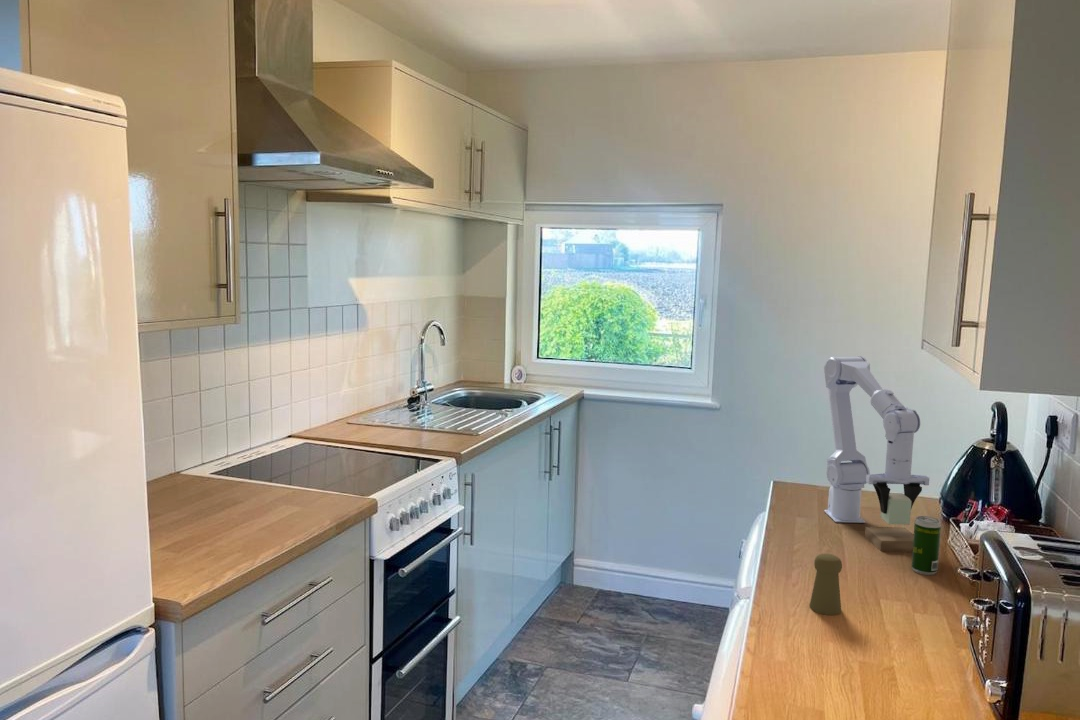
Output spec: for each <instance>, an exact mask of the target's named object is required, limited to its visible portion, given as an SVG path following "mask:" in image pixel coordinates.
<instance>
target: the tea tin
mask: <svg viewBox="0 0 1080 720" xmlns="http://www.w3.org/2000/svg"><path fill="white" fill-rule="evenodd" d="M911 503H912V501H911V500H910V499H909V498H908V497H907V496H905V495H904V493H900V492H890V493H889V497H888V508H887V514H886V513H883V512H881V511H880V518H881V519H882V520H883V521H884V522H885V523H887V524H888V525H898V526H899V525H903V526H904V525H906V526H907V525H908V526H909V525H910V524H911V515H912V514H911V513H912V509H911Z"/></svg>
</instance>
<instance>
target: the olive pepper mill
mask: <svg viewBox="0 0 1080 720" xmlns="http://www.w3.org/2000/svg"><path fill="white" fill-rule="evenodd" d="M813 565H814V569H815V571H816V573H815V577H814V583H813V588H812V590H811V591H812V592H811V597H810V601H809V609H810V610H811V611H813V612H815V613H817V614H820V615H825V616H837V615H839V614H841V613H842V604H841V603H842V602H841V590H840V589H841V588H840V578H839V577H840V576H839V573H841V571H842V569H843V564H842V560H841V559H840V557H839V556H837V555H835V554H830V553H820V554H817V555H816V556H815V558H814V561H813Z"/></svg>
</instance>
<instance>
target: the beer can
mask: <svg viewBox="0 0 1080 720" xmlns="http://www.w3.org/2000/svg"><path fill="white" fill-rule="evenodd" d="M941 532H942V525H941V520H940V519H938V518H936V517H933V516H926V515H921V516H916V517H915V520H914V526H913V534H914V537H913V550H912V553H911V564H910V566H911V569H912V571H913V572H915V573H918V574H920V575H925V576H933V575H936V574H937V572H938V569H939V559H940V558H939V556H940V548H941V547H940V545H941V535H942V534H941Z"/></svg>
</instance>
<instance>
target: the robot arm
mask: <svg viewBox="0 0 1080 720" xmlns="http://www.w3.org/2000/svg"><path fill="white" fill-rule="evenodd" d="M823 370H824V379H825V387H826V388H827V390H828V397H829V398H828V399H829V407H830V414H831V422H832V431H833V438H834V439H833V440H834V447H835V449H834V450H835V451H834V452H833V453H832V454H831V455H830V456H829V457H828V458H827V459H826V460H827V468H826V478H827V481H828V482H829V484H830V487H829V489H828V500H827V509H824V513H826V515H828V516H829V518H831V519H832V520H833V521H834V522H835V523H851V524H852V523H853V524H854V523H856V524H857V523H860V524H861V523H862V524H863V523H866V520H864V518H863V517H862V516H861V505H862V504H861V502H862V501H861V500H862V489H863V488H865V485H866V484H868V485H872V486H873V487H874V490H875V493H876V495H877V499H878V503H879V507H880V508H879V510H880V513H881V512H883V513H886V514H887V508H888V497H889V493H891V488H890V487H889V485H903V494H904V495H905V496H907V497H908V498H909V499H910V500H911V501H912V503H911V510H912V509H913V505H914V504H915V502H916V500H917V498H918V497H919V495H920V494H921V493H922V491H923V490H922V489H923V487H922V486H921V485H923V486H930V477H928V476H927V475H921V474H920V475H917V474H912V465H913V464H912V462H913V449H914V437H915V436H914V435H915V433H917V432H918V431H919V429H920V427H921V419H920V415H919V414H918V413H917V411H916V410H915V409H911V408H908V407H905V406H904V404H903V403H902V402H901V401H900V400H899V399H898V397H896V395H895V394H894V392H893V391H892V390H891V389H886V388H885V389H884V388H883V387H882V386H881V385H880V383H879V381H878V380H877V379H876V378H875V376H874V375H873V374H872V372H871V364H870V362H868V360H867V359H866V357H864V356H862V355H860V356H830V357H828V359H827V361H826V362H825V365H824V366H823ZM857 386H859V387H860V388H861V389H862V390H863V391H864V392H865V393H866V394H867V395H868V396H869V397H870V405H871V406H872V408H873V409H874V410H875V412H877V413H878V415H879V416H880V417H881V418H882V424H883V428H884V430H885V436H884V437H885V438H886V440H887V443H886V453H885V454H886V455H885V456H886V457H885V470H884V473H874V474H871V473H870V468H869V467H868V464H867V460H866V457H865V456H864V454H862V453H861V452H859V451H858V450H857V446H856V436H855V428H854V427H855V426H854V421H853V413H852V403H851V396H850V393H851V392H852V389H854V388H856V387H857ZM843 461H844V462H843ZM847 461H848V462H847ZM849 461H850V462H849Z"/></svg>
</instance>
